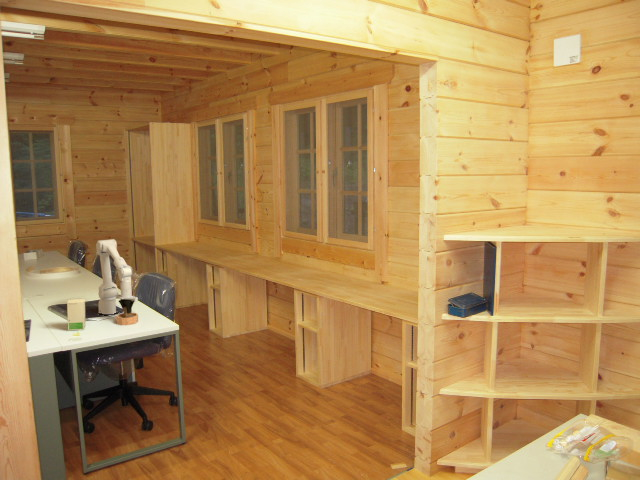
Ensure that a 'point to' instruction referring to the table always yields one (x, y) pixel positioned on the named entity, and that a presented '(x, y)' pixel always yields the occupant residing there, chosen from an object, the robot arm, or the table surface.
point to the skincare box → (76, 314)
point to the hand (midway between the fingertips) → (127, 312)
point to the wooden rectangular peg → (125, 314)
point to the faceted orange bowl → (127, 319)
